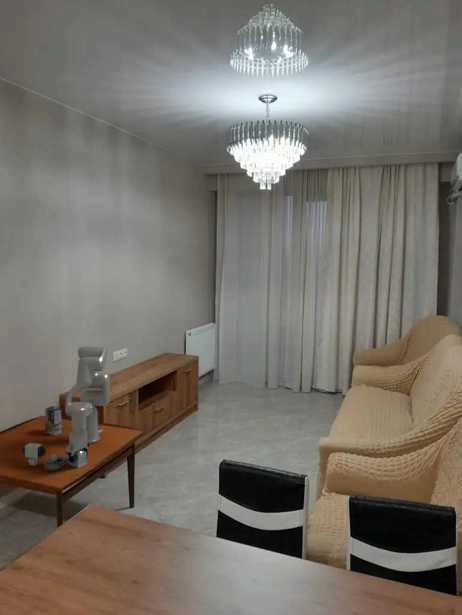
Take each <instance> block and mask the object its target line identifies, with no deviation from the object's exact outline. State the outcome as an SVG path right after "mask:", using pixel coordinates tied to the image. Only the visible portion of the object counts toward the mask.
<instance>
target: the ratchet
mask: <svg viewBox="0 0 462 615" xmlns="http://www.w3.org/2000/svg"><path fill="white" fill-rule="evenodd" d="M68 463H70V462H69V455H68V454H67V455H66V456H64V457H63V456H59V457H58V454H55V453H53V454H50V456H49V459H47V460H46V461H45V462H44V470H45V471H46V472H52V473H53V472H56V471H60V470H61V469H63V466H64V465H65V464H66V465H67V464H68Z"/></svg>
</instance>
